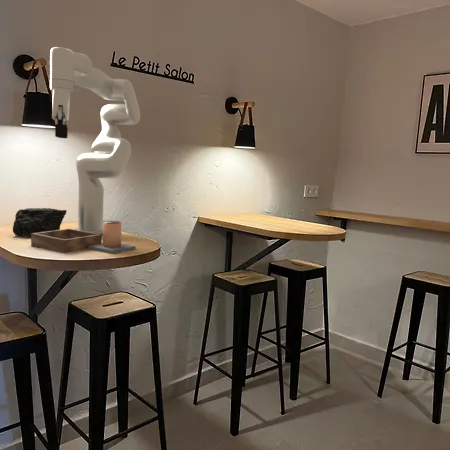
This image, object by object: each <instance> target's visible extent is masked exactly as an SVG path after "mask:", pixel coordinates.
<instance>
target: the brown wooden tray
mask: <svg viewBox="0 0 450 450" xmlns="http://www.w3.org/2000/svg"><path fill="white" fill-rule="evenodd" d="M74 229H75V228H63V229H60V230H54V231H47V232H39V233H31V236H30V245H31V246H34V247H37V248H42V249H47V250H50V251H56V252H59V253H70V252H75V251H79V250H80V251H81V250H86V249H87V250H88V246H90V245H95V244H101V243H102V241H103V234H96V233H91V232H85V231H80V230H74Z"/></svg>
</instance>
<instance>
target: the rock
mask: <svg viewBox="0 0 450 450" xmlns="http://www.w3.org/2000/svg"><path fill="white" fill-rule="evenodd" d="M65 215H67V209H56V208H51V207H49V208H46V207H45V208H44V207H38V208H37V207H36V208H34V207H32V208H31V207H29V208H24V209H21V208H20V209H19V210H17V212H16V213H15V219H14V222H13V224H12V225H13V226H12V234H14V236H24V237H31V233H39V232H47V231H54V230H61V225H62V223H63V219H64V218H65Z"/></svg>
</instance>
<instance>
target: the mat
mask: <svg viewBox="0 0 450 450" xmlns="http://www.w3.org/2000/svg"><path fill="white" fill-rule="evenodd" d="M136 248H137V247H136V245H131V244H127V243H126V244H125V243H122V242H121V246H120V247H115V248H109V247H104V246H103V242H101V244H95V245H90V246H88V248H87V250H92V251H98V252H103V253H106V252H107V254H112V255H113V254H117V253H123V251H124V252H128V251H132V250H136Z"/></svg>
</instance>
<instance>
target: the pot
mask: <svg viewBox="0 0 450 450" xmlns="http://www.w3.org/2000/svg"><path fill="white" fill-rule="evenodd" d="M103 221H104V222H103V234H102V243H103V246H104V247H109V248H115V247H120V246H121V243H122V222H121V221H119V220H103Z"/></svg>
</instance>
